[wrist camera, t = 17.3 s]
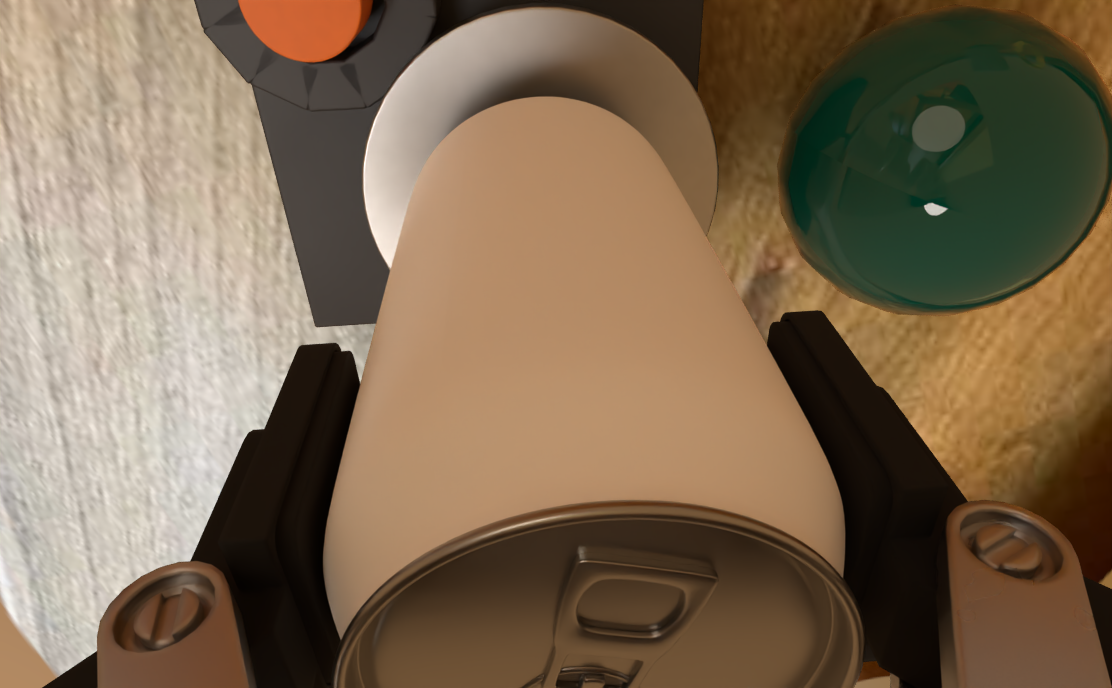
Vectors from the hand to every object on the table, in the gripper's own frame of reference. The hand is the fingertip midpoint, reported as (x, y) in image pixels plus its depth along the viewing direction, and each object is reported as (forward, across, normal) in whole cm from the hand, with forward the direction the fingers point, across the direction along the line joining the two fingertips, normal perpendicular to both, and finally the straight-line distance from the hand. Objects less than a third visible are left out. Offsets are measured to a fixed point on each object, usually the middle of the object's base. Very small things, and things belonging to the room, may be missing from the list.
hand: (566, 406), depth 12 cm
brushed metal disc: (+9, 0, 0) cm, 9 cm away
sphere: (+13, -11, 0) cm, 17 cm away
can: (+7, 0, 0) cm, 7 cm away
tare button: (+10, +5, -5) cm, 12 cm away
